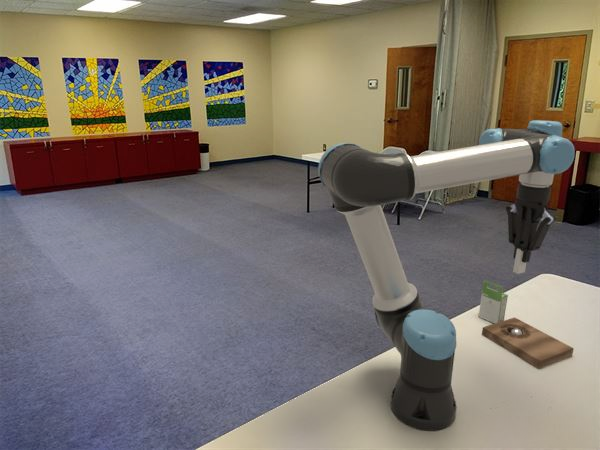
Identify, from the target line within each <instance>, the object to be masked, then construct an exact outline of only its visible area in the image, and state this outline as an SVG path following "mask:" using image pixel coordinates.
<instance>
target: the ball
mask: <svg viewBox="0 0 600 450" xmlns="http://www.w3.org/2000/svg"><path fill="white" fill-rule="evenodd" d="M510 333H511V334H514V335H522V331H521V330H520V329H517V328H515V329H512V330H511V332H510Z"/></svg>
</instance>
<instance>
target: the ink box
mask: <svg viewBox="0 0 600 450" xmlns="http://www.w3.org/2000/svg"><path fill="white" fill-rule="evenodd" d="M491 287H493V288H495V289H493V288H491ZM503 291H504V287H503V286H500V285H498V284H495V283H491V282H490V281H486V280H483V282H482V290H481V297H480V303H479V304H480V305H479V311H478V312H479V313H478V318H479V319H480V318H481V319H483V320H486V321H487V322H489V323H492V324H495V323H498V322H501V321H505V316H506V311H507V310H506V309H507V303H508V298H509V294H507V293H504V292H503Z"/></svg>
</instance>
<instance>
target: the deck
mask: <svg viewBox="0 0 600 450" xmlns="http://www.w3.org/2000/svg"><path fill="white" fill-rule="evenodd" d="M515 328H517V329H520V330H521V331H522V335H514V334H511V333H510V332H511V330H512V329H515ZM481 335H482V336H484V337H485V338H488V339H489V340H491V342H494V343H495V344H497V345H498V346H500V347H502V348H503V349H505V350H507V351H508V352H510V353H511V354H513V355H515V356H516V357H519V358H520V359H521V360H523V361H525V362H526V363H528V364H530V365H532V366H533V367H535V368H536V369H538V370H540V369H542V368H544V367H547V366H550V365H552V364H556V363H557V362H560V361H562V360H566V359H568V358H570V357H573V355H574V347H573V346H570V345H568V344H566V343H564V342H562V341H560V340H559V339H557V338H555V337H553V336H551V335H549V334H548V333H545V332H543V331H541V330H540V329H538V328H536V327H534V326H532V325H531V324H528V323H526V322H524V321H523V320H520V319H518V318H517V317H512V318H508V319H504V321H501V322H498V323H495V324H494V323H492V324H489V325H485V326H482V330H481Z"/></svg>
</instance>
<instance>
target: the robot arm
mask: <svg viewBox="0 0 600 450" xmlns="http://www.w3.org/2000/svg"><path fill="white" fill-rule="evenodd" d="M575 149H576V148H575V145H574V144H573V143H572V141H570V140H569V139H567V138H564V137H563V124H562V122H559V121H556V120H555V121H554V120H553V121H552V120H540V119H539V120H537V119H536V120H531V121H529V123H528V125H527V127H526V128H523V129H521V128H520V129H519V128H518V129H517V128H500V127H497V128H489V129H486V130H484V131H483V132H482V133H481V135H480V137H479V139H478V145H472V146H466V147H461V148H460V147H459V148H454V149H448V150H442V151H436V152H429V153H423V154H418V155H411V156H410V155H409V154H408V153H406V152H399V153H398V152H397V153H390V154H389V153H388V154H387V153H378V152H373V151H370V150H368V149H364V148H362V147H361V146H359V145H358V144H355V143H351V142H350V143H349V142H343V143H342V142H340V143H336V144H334V145H332V146H330V147H329V148H328V149H327V150H326V151H325V152H324V153H323V154H322V156H321V157H320V159H319V162H318V168H317V170H318V171H317V172H318V177H319V179H320V182H321V184H322V185H323V187H325V188H326V189H327V191H328V193H329V196H330V198H331V201H332V204H333V206H334V209H335V211H336V212H337V213H340V214H342V215H344V216H345V219H346V222H347V224H348V226H349V229H350V231H351V234H352V237H353V240H354V242H355V245H356V248H357V250H358V252H359V256H360V258H361V260H362V263H363V265H364V269H365V270H366V273H367V277H368V279H369V281H370V284H371V286H372V289H373V292H374V295H373V296H372V298H371V299H372V301H371V303H372V305H373V315H374V319H375V322H376V323H377V326H378V327H379V328H380V330H381V331H382V332H383V333H384V334H385V335H386V337H387V338H388V339H389V340H390V342H391V343H392V345H393V346H394V347H395V349H396V350H397V351H398V352H399V354H400V357H401V358H400V359H401V360H400V370H399V371H400V373H399V377H398V380H396V384H395V386H394V388H393V389H392V391H391V396H390V408H391V411H392V413H393V415H394V416H395V417H396V418H397V419H398V420H399V421H401V423H404V424H405V425H408V426H410V427H412V428H414V429H418V430H424V431H439V430H442V429H446V428H447V427H449V426H451V424H453V422H454V421H455V419H456V414H457V402H456V399H455V394H454V392H453V387H452V377H453V370H454V361H455V352H456V348H457V331H456V330H457V329H456V327H455V325H454V323H453V322H452V321H451V320H450V318H448V317H447V316H446V315H444V314H442V313H441V312H440V313H437V311H435V310H431V309H425V308H424V306H423V303H422V300H421V298H420V295H419V293H418V289H417V287H416V286H415V285H414V284H413V283H411V282H410V283H409V282H408V279H407V276H406V273H405V270H404V268H403V264H402V261H401V259H400V257H399V252H398V250H397V248H396V245H395V242H394V239H393V236H392V234H391V230H390V228H389V224H388V222H387V219H386V216H385V213H384V211H383V208H382V207H383V205H389V204H394V203H400V202H405V201H410V200H412V199H413V198H414V197H415V196H416V194H421V193H427V192H431V191H436V190H442V189H448V188H449V189H450V188H453V187H454V188H455V187H459V186H460V187H461V186H465V185H471V184H475V183H482V182H487V181H493V180H498V179H503V178H504V179H505V178H509V177H514V176H515V177H516V176H518V181H519V182H520V183H518V184H517V189H516V193H515V194H516V195H515V196H516V198H517V199H516V200H515V202H514V204H511V205H506V206H505V211H506V214H507V224H508V225H507V227H508V230H507V231H508V243H509V244H512V245H513V247H514V251H513V259H514V264H513V270H512V272H513V273H514V274H517V275H519V274H524V273H526V267H527V263H530V259H531V255H532V251H538V250H540V248H541V247H542V245H543V242H544V239H545V237H546V235H547V233H548V231H549V229H550V226H551V225H552V224H554V222H555V221H556V217H555V216H552V215H550V214H549V213H548V208H549V207H548V204H549V203H548V202H549V201H550V198H551V192H552V187H551V186H552V184H553V182H554V177H555V175H559V174H562V173H563V172H565V171H567V170H568V169H569V168H570V167H571V166H572V164H573V162H574V159H575V153H576V152H575V151H576V150H575ZM540 221H541V222H540Z"/></svg>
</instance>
